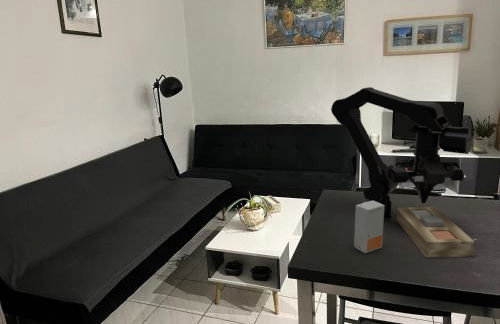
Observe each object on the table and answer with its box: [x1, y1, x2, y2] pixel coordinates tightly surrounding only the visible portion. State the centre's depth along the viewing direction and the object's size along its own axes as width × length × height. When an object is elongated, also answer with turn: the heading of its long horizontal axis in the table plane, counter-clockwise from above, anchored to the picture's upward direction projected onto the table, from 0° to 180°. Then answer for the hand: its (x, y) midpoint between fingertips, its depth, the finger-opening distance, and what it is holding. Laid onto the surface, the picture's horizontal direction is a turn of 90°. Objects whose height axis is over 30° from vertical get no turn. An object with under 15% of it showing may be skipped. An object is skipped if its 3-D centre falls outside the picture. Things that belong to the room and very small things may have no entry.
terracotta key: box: [431, 231, 456, 239], centre depth 95 cm, size 4×4×2 cm
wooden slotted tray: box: [396, 206, 475, 258], centre depth 102 cm, size 11×22×4 cm, turn 177°
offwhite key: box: [411, 210, 431, 216], centre depth 109 cm, size 4×4×2 cm
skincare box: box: [353, 201, 385, 254], centre depth 97 cm, size 6×4×12 cm
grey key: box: [420, 215, 444, 227], centre depth 101 cm, size 4×4×2 cm
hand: (423, 202), depth 107 cm, fingers closed
